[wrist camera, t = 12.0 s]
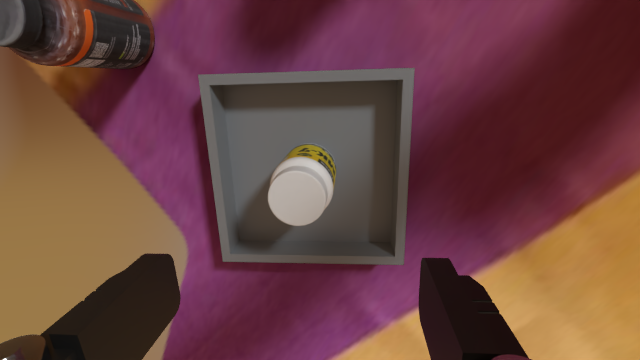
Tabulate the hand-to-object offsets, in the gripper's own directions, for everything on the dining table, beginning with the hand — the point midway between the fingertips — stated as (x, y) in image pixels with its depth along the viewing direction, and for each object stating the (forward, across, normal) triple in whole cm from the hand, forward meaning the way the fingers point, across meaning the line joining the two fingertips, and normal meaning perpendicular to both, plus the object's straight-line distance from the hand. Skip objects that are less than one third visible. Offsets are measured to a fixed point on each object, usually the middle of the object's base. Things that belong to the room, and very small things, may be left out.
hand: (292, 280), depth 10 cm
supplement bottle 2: (+20, +2, +2) cm, 20 cm away
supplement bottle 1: (+20, +18, -11) cm, 29 cm away
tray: (+20, +2, +2) cm, 20 cm away
